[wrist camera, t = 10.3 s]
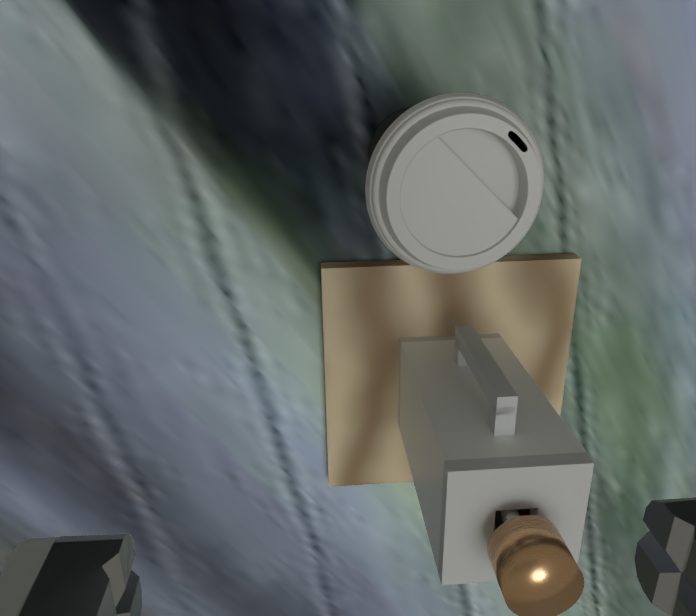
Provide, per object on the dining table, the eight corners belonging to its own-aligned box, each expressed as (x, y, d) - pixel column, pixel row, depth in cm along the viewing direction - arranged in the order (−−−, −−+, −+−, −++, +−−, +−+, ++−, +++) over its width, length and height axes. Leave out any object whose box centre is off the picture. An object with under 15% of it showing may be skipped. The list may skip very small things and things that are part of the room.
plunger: (413, 418, 50) (482, 636, 31) (414, 354, 48) (490, 547, 29) (482, 414, 50) (593, 627, 31) (487, 351, 48) (609, 539, 29)
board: (328, 475, 54) (328, 486, 53) (320, 262, 47) (321, 268, 45) (546, 462, 55) (552, 472, 54) (573, 253, 48) (581, 258, 46)
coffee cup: (495, 185, 45) (580, 239, 32) (378, 238, 46) (412, 313, 32) (450, 60, 42) (524, 58, 28) (325, 120, 43) (337, 148, 29)
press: (398, 424, 51) (441, 585, 35) (400, 307, 47) (450, 430, 31) (491, 418, 51) (575, 575, 36) (501, 303, 47) (600, 421, 32)
